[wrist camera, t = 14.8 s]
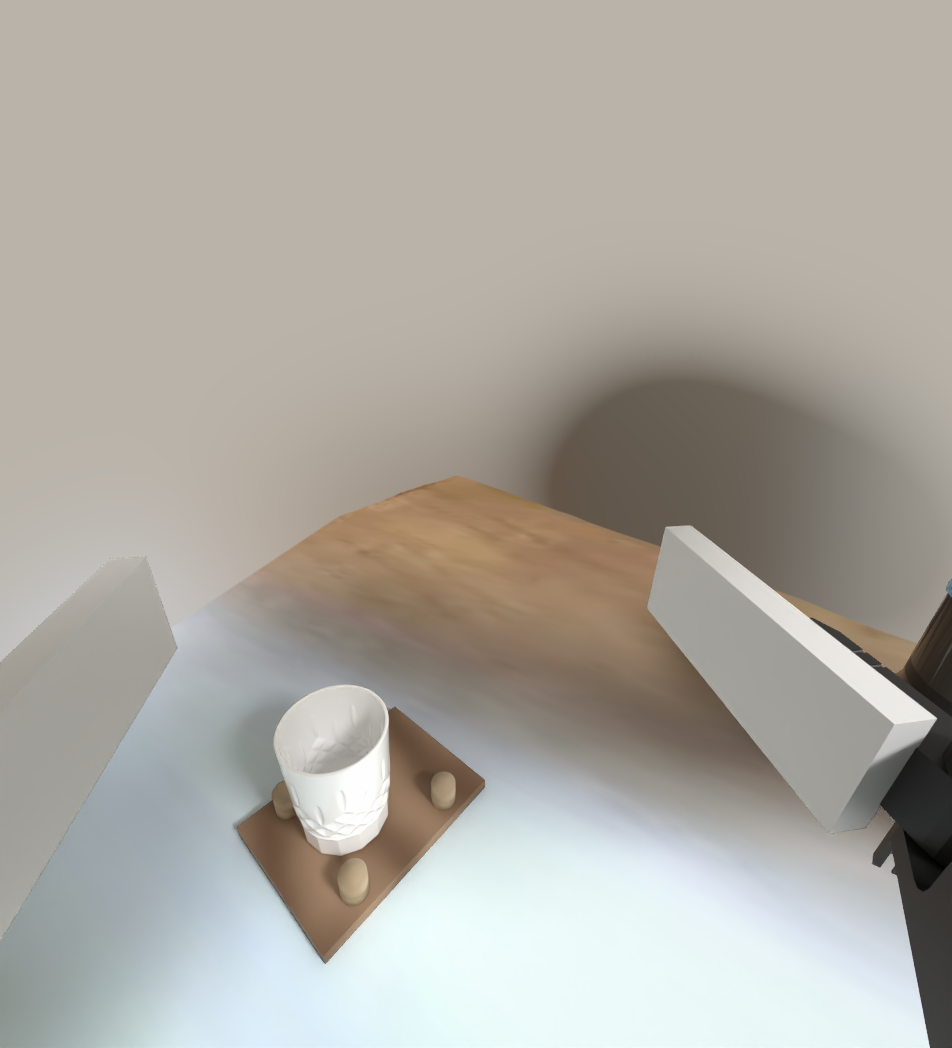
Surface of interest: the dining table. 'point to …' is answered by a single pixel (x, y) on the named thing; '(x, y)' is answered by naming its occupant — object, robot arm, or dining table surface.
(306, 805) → the white cup
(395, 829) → the holder
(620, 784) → the dining table surface
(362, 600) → the dining table surface
